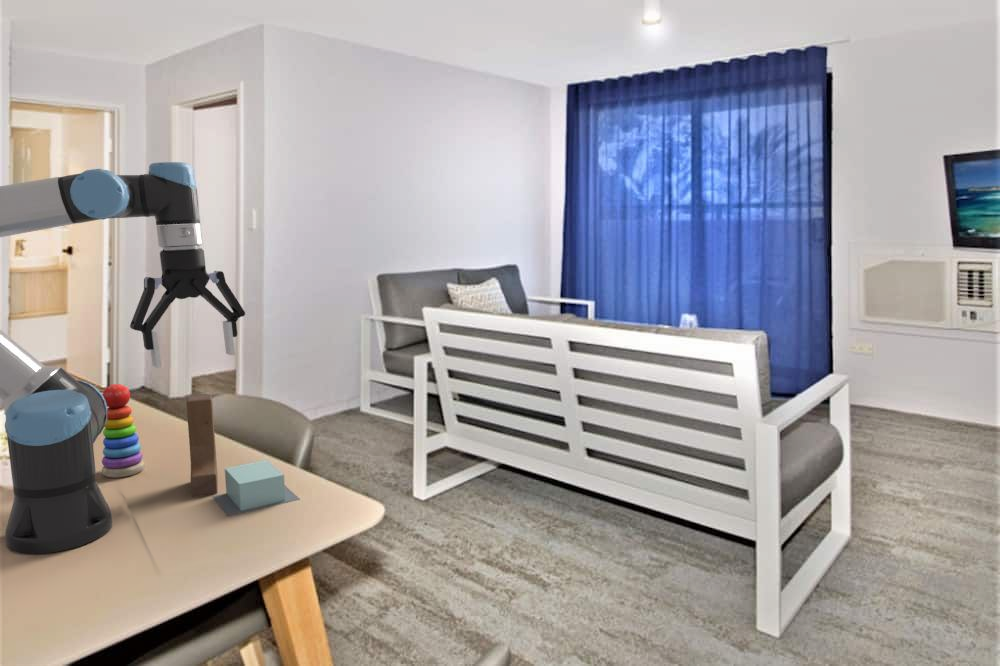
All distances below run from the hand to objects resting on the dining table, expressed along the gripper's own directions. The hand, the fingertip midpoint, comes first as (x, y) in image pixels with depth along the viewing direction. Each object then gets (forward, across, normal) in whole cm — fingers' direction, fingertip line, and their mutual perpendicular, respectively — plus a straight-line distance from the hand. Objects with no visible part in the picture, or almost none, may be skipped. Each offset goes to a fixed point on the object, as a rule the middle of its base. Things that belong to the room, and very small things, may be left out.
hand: (194, 360), depth 135 cm
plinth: (+25, +4, -12) cm, 28 cm away
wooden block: (+26, -1, 0) cm, 26 cm away
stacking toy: (+25, -10, +21) cm, 34 cm away
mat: (+26, +4, -12) cm, 29 cm away
